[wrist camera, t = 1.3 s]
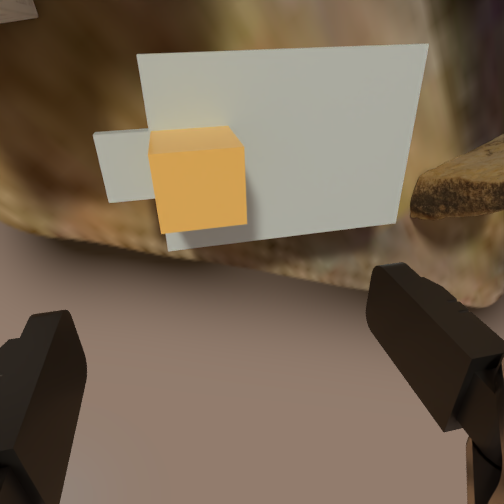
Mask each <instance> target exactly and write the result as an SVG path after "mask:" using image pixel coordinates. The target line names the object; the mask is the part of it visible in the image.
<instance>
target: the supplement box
mask: <svg viewBox="0 0 504 504" xmlns="http://www.w3.org/2000/svg"><path fill="white" fill-rule="evenodd" d="M33 18H38V13H37V10H36V7H35V4H34V2H33V0H0V23H7V22H13V21H20V20H26V19H33Z"/></svg>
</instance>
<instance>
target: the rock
mask: <svg viewBox="0 0 504 504" xmlns="http://www.w3.org/2000/svg"><path fill="white" fill-rule="evenodd" d="M410 207H411V214H410V217H412V218H416V217H418V218H419V219H422V220H437V219H443V218H445V217H464V216H480V215H484V214H491V213H494V212H498V211H502V210H504V134H502V135H500V136H499V137H497V138H495V139H493V140H492V141H490V142H488V143H486V144H483V145H482V146H480V147H477V148H476V149H474V150H472V151H470V152H468V153H466V154H464V155H460V156H457V157H456V158H454V159H452V160H450V161H447V162H445V163H444V164H442V165H440V166H438V167H437V168H436V169H432V170H429V171H427V172H425V173H424V174H422V175H421V176H420V177H419V179H418V182H417V184H416V187H415V189H414V193H413V195H412V199H411V206H410Z"/></svg>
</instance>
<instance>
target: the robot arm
mask: <svg viewBox="0 0 504 504" xmlns="http://www.w3.org/2000/svg"><path fill="white" fill-rule="evenodd" d="M366 319H367V323H368V326H369V328H370V330H371V332H372V333H373V335H374V336H375V338H376V339H377V340H378V342H379V343H380V344H381V346H382V347H383V348H384V350H385V351H386V353H387V354H388V356H389V357H390V358H391V360H392V361H393V362H394V364H395V365H396V367H397V368H398V369H399V371H400V372H401V374H402V375H403V376H404V378H405V379H406V380H407V382H408V383H409V385H410V386H411V387H412V389H413V390H414V392H415V393H416V394H417V396H418V397H419V398H420V400H421V401H422V403H423V404H424V405H425V407H426V408H427V410H428V411H429V412H430V414H431V415H432V417H433V418H434V419H435V421H436V422H437V423H438V425H439V426H440V428H441V429H442V431H443V432H447V431H452V430H456V429H460V428H463V429H464V430H465V431H466V432H467V434H468V435H469V437H468V439H467V442H466V468H467V504H504V340H503V339H502V338H500V337H499V336H498V335H497V334H496V333H495V332H493V331H492V330H491V329H490V328H489V327H488V326H487V325H486V324H484V323H483V322H482V321H481V320H480V319H479V318H478V317H476V316H475V315H474V314H473V313H472V312H469V311H468V309H467V308H466V307H465V306H464V305H463V304H462V303H461V302H457V300H456V298H455V297H454V296H453V295H451V294H450V293H449V292H448V291H447V290H446V289H445V288H443V287H442V286H440V285H438V284H436V283H434V282H432V281H430V280H428V279H426V278H424V277H420V276H419V275H418V274H417V273H416V272H415V271H413V270H412V269H411V268H410V267H409V266H408V265H407V264H405V263H403V262H400V263H393V264H386V265H379V266H376V267H375V268H374V269H373V271H372V275H371V281H370V287H369V293H368V299H367V306H366ZM86 379H87V363H86V358H85V354H84V351H83V348H82V345H81V342H80V340H79V336H78V334H77V331H76V328H75V325H74V322H73V319H72V316H71V314H70V312H69V311H68V310H60V311H53V312H46V313H39V314H33V315H31V316H30V318H29V320H28V322H27V324H26V326H25V328H24V330H23V333H22V334H21V337H20V338H16V339H9V340H8V341H7V342H6V343H5V344H4V345H3V346H2V347H1V348H0V504H59V503H60V498H61V494H62V489H63V485H64V480H65V476H66V471H67V466H68V462H69V457H70V453H71V448H72V443H73V439H74V434H75V430H76V425H77V421H78V416H79V411H80V407H81V402H82V398H83V393H84V389H85V383H86Z"/></svg>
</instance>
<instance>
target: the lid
mask: <svg viewBox="0 0 504 504" xmlns="http://www.w3.org/2000/svg"><path fill="white" fill-rule="evenodd" d="M428 47H429V44H398V45H371V46H343V47H316V48H289V49H261V50H234V51H207V52H179V53H152V54H137V61H138V67H139V74H140V80H141V86H142V92H143V98H144V104H145V111H146V117H147V123H148V128H146V129H132V130H118V131H103V132H95V133H94V134H93V138H94V142H95V147H96V151H97V155H98V159H99V164H100V168H101V172H102V176H103V180H104V185H105V189H106V193H107V197H108V201H109V203H115V202H125V201H135V200H145V199H155V200H156V206H157V212H158V218H159V224H160V230H161V234H166V240H167V246H168V251H175V250H183V249H191V248H199V247H207V246H215V245H223V244H232V243H240V242H248V241H256V240H264V239H272V238H280V237H288V236H296V235H304V234H312V233H320V232H328V231H336V230H344V229H352V228H360V227H368V226H377V225H385V224H393V223H396V218H397V213H398V207H399V202H400V197H401V191H402V186H403V181H404V175H405V170H406V165H407V159H408V154H409V149H410V143H411V138H412V133H413V127H414V122H415V117H416V111H417V106H418V100H419V95H420V90H421V84H422V79H423V74H424V68H425V63H426V58H427V52H428Z"/></svg>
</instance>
